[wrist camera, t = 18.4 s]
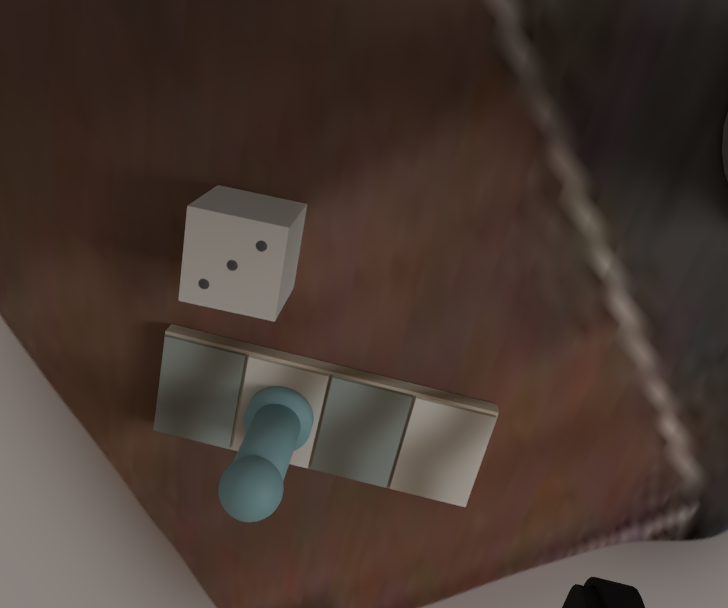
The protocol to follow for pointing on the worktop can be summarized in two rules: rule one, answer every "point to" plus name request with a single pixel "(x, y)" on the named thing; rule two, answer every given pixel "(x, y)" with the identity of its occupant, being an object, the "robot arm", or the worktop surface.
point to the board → (327, 414)
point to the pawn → (265, 453)
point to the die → (241, 251)
